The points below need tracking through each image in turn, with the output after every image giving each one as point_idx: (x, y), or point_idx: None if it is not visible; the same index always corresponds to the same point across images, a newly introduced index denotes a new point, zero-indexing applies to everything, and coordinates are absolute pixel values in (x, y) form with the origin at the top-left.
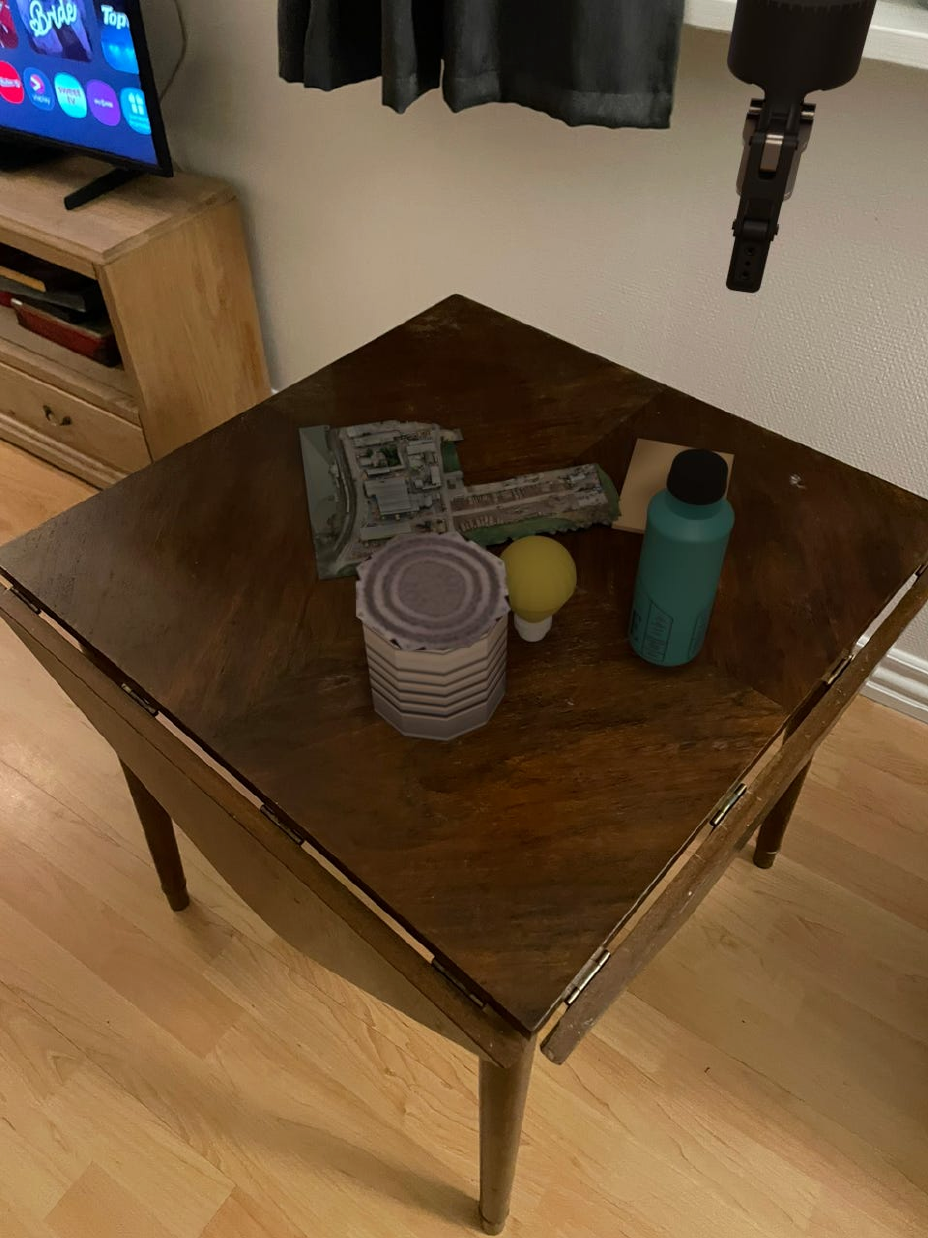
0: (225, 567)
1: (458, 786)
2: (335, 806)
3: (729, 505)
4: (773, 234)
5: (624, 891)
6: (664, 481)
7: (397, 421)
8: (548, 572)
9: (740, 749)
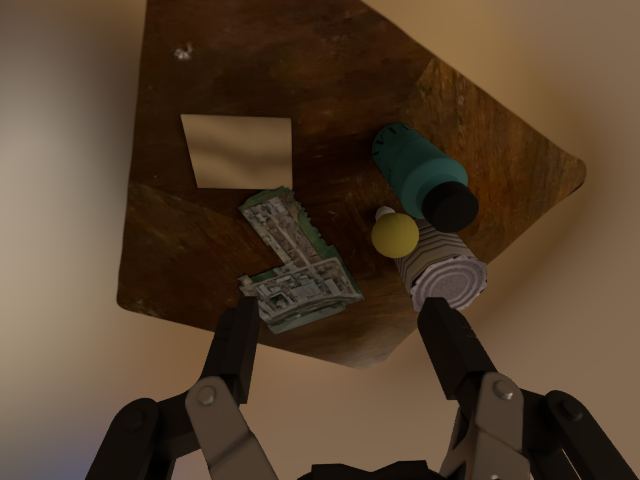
0: (361, 324)
1: (476, 221)
2: (481, 258)
3: (433, 165)
4: (585, 411)
5: (543, 141)
6: (237, 163)
7: None
8: (414, 237)
9: (465, 86)
